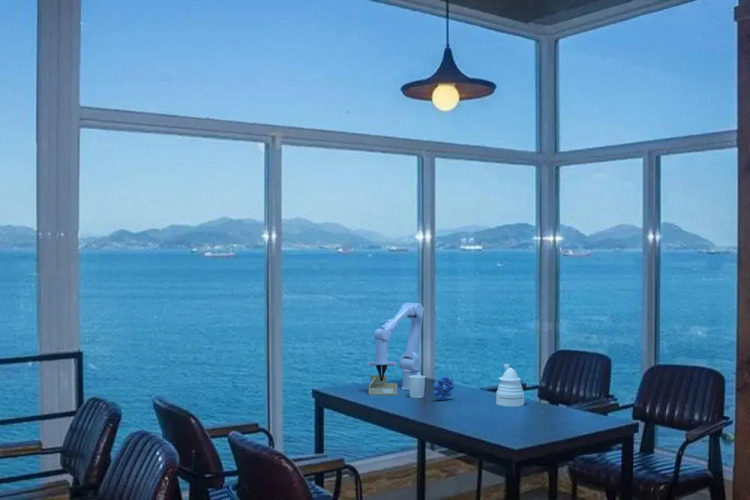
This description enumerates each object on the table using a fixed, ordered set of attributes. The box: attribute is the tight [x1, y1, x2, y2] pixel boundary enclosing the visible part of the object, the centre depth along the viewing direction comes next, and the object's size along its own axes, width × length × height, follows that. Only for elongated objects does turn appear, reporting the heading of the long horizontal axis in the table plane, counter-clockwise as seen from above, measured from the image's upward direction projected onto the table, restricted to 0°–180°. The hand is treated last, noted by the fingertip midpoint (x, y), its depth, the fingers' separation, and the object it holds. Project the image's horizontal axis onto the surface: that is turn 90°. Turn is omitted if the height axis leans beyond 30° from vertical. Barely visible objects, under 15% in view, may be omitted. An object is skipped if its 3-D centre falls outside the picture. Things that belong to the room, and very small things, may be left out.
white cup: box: [409, 374, 426, 399], centre depth 373 cm, size 8×8×10 cm
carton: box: [368, 382, 398, 396], centre depth 384 cm, size 14×14×4 cm
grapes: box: [432, 374, 455, 401], centre depth 366 cm, size 12×7×12 cm, turn 117°
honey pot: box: [495, 363, 525, 408], centre depth 358 cm, size 13×13×18 cm
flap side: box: [369, 374, 387, 383], centre depth 390 cm, size 8×1×5 cm
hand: (381, 380), depth 382 cm, fingers closed
